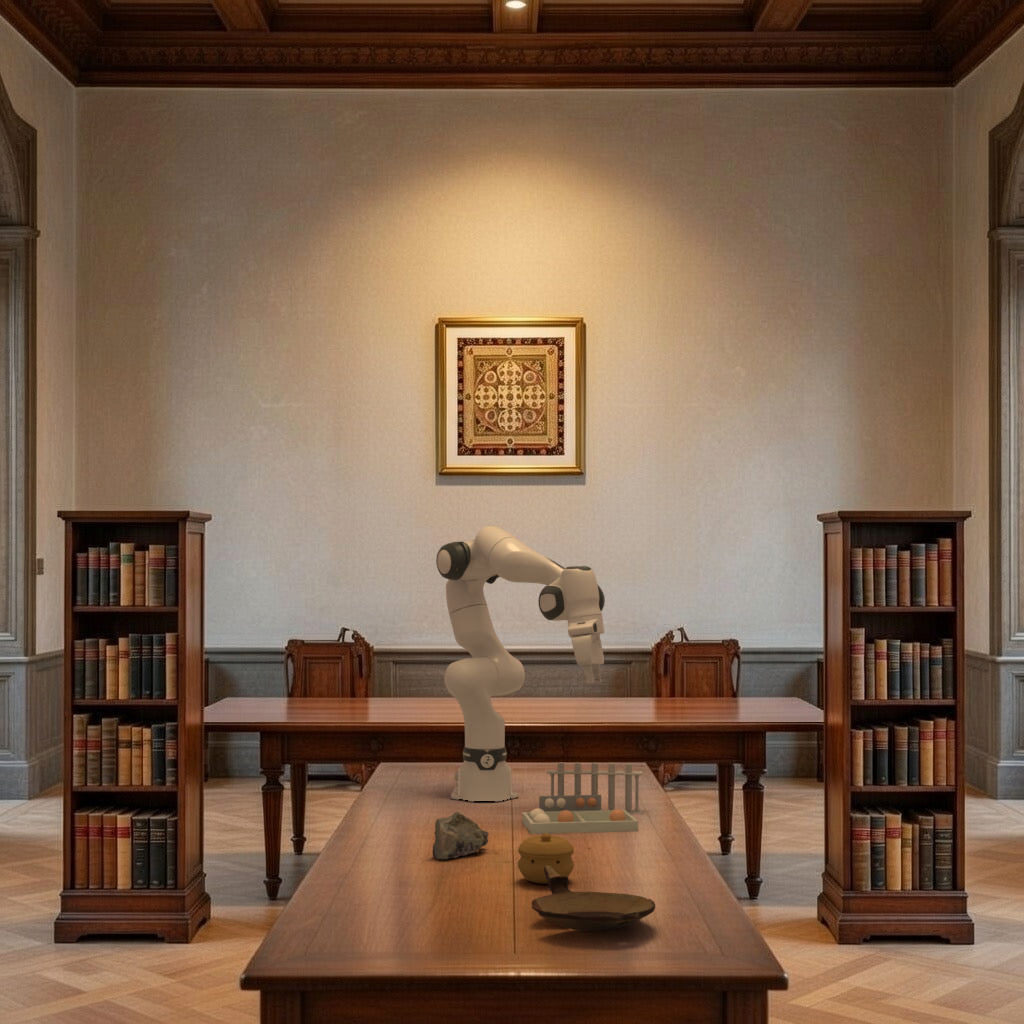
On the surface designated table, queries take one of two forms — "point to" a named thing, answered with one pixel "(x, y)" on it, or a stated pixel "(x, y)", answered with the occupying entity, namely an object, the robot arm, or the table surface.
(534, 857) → the pot
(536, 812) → the ivory ball
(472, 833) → the mineral rock
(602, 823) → the twin dish
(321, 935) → the table surface
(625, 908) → the frying pan
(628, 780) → the test tube rack
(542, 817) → the ivory ball
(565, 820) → the terracotta ball
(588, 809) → the card
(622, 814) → the terracotta ball
